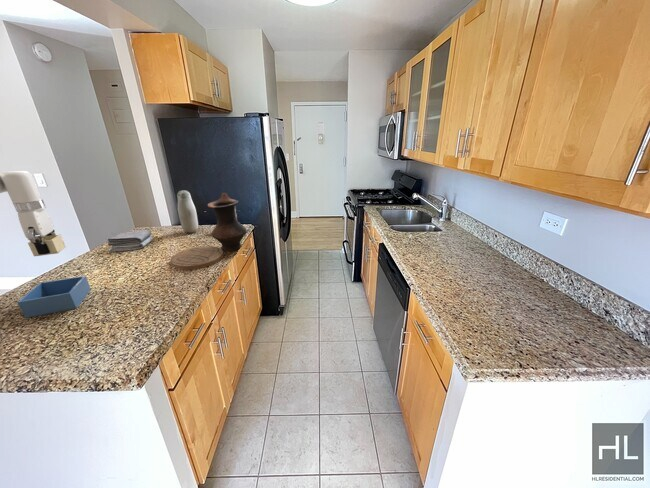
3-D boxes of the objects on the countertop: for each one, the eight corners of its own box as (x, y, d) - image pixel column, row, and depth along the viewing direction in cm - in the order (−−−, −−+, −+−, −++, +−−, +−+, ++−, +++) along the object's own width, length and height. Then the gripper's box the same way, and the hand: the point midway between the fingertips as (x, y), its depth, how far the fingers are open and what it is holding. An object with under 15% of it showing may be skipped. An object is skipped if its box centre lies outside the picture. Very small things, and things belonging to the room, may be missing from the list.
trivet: (193, 247, 149) (192, 244, 149) (232, 250, 145) (232, 247, 144) (159, 267, 127) (158, 263, 126) (204, 271, 122) (203, 268, 121)
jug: (249, 252, 142) (242, 198, 131) (213, 256, 137) (202, 201, 126) (248, 239, 161) (242, 191, 150) (216, 242, 156) (207, 193, 145)
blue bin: (25, 318, 91) (16, 302, 88) (46, 297, 103) (39, 282, 101) (76, 308, 96) (69, 293, 94) (91, 289, 108) (85, 275, 106)
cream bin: (34, 256, 98) (27, 242, 96) (43, 249, 104) (37, 236, 102) (57, 253, 101) (52, 240, 99) (65, 247, 107) (60, 234, 105)
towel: (144, 249, 147) (141, 236, 144) (107, 252, 143) (102, 239, 140) (154, 239, 161) (150, 227, 158) (120, 242, 157) (116, 230, 154)
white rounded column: (180, 232, 173) (170, 190, 163) (194, 228, 181) (186, 188, 170) (188, 235, 168) (178, 192, 157) (202, 231, 176) (194, 189, 165)
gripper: (29, 202, 101) (48, 244, 108) (0, 212, 87) (24, 260, 93) (54, 200, 104) (71, 241, 111) (30, 210, 90) (51, 256, 96)
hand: (49, 249), depth 102 cm, fingers closed on cream bin, 7 cm apart
